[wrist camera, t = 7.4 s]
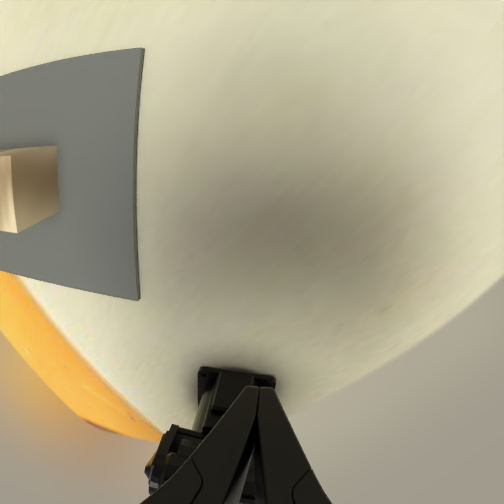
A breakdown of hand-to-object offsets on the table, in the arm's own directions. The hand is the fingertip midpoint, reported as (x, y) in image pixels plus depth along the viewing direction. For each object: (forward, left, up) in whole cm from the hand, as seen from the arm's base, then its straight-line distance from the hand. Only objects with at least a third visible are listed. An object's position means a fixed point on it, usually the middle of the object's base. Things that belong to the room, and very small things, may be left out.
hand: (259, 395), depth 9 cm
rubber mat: (+3, +19, -13) cm, 23 cm away
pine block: (+3, +16, -10) cm, 19 cm away
